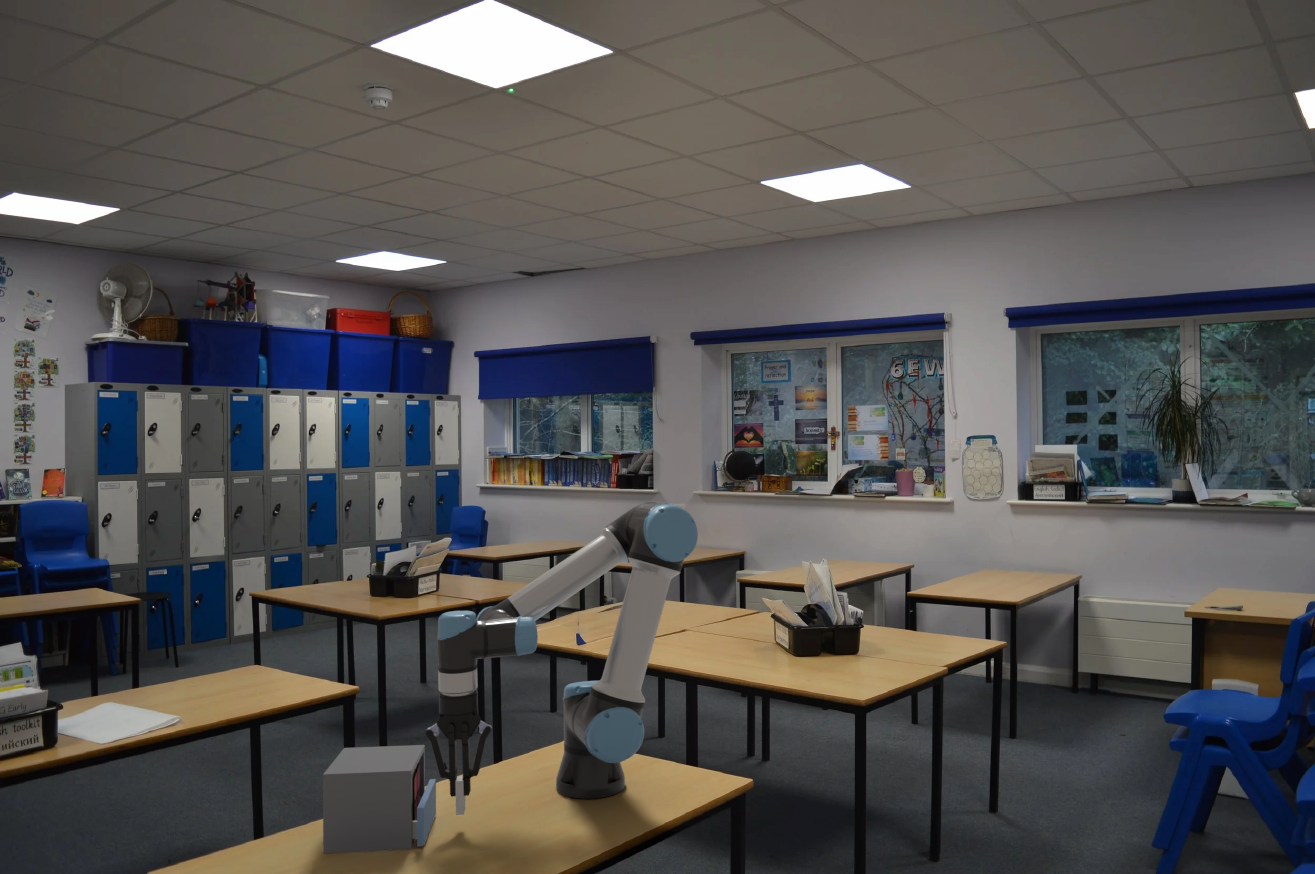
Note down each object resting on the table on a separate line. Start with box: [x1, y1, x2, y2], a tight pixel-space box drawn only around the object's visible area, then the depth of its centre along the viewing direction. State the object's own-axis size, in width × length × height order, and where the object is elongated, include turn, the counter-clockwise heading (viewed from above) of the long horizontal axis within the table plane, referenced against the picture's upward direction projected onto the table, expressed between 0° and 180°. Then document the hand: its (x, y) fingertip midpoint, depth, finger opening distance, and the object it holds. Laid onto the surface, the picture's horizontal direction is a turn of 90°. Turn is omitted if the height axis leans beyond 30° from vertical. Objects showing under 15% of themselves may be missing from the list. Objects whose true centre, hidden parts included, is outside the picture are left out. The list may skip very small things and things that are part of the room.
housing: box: [322, 744, 426, 854], centre depth 180 cm, size 16×16×14 cm
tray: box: [412, 778, 437, 847], centre depth 180 cm, size 16×16×7 cm
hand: (460, 811), depth 181 cm, fingers closed
